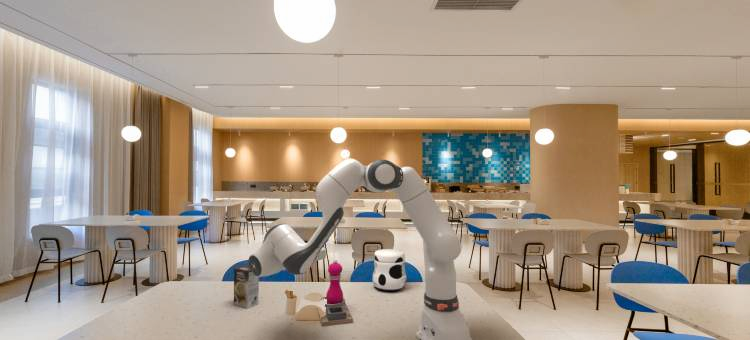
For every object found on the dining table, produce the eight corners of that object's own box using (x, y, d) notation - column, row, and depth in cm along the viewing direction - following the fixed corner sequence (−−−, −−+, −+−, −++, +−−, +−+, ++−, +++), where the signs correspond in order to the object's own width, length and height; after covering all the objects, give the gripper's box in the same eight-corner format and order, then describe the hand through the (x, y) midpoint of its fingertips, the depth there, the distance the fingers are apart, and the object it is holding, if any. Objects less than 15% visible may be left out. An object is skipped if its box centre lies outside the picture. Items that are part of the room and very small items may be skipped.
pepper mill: (340, 310, 138) (341, 262, 138) (323, 309, 139) (324, 261, 139) (344, 303, 145) (345, 257, 145) (328, 302, 146) (329, 256, 146)
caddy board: (352, 322, 130) (352, 312, 130) (321, 326, 127) (322, 315, 127) (343, 303, 149) (343, 294, 149) (316, 306, 146) (316, 296, 146)
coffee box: (232, 304, 147) (233, 268, 147) (244, 300, 153) (245, 264, 153) (247, 308, 143) (247, 271, 143) (259, 303, 148) (259, 267, 149)
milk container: (368, 283, 176) (368, 249, 176) (399, 280, 181) (399, 247, 181) (378, 295, 159) (378, 257, 160) (411, 291, 164) (412, 255, 165)
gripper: (311, 249, 115) (335, 242, 127) (269, 244, 125) (295, 237, 137) (311, 268, 115) (335, 258, 127) (269, 260, 125) (295, 253, 137)
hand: (314, 247), depth 132 cm, fingers open, 8 cm apart
